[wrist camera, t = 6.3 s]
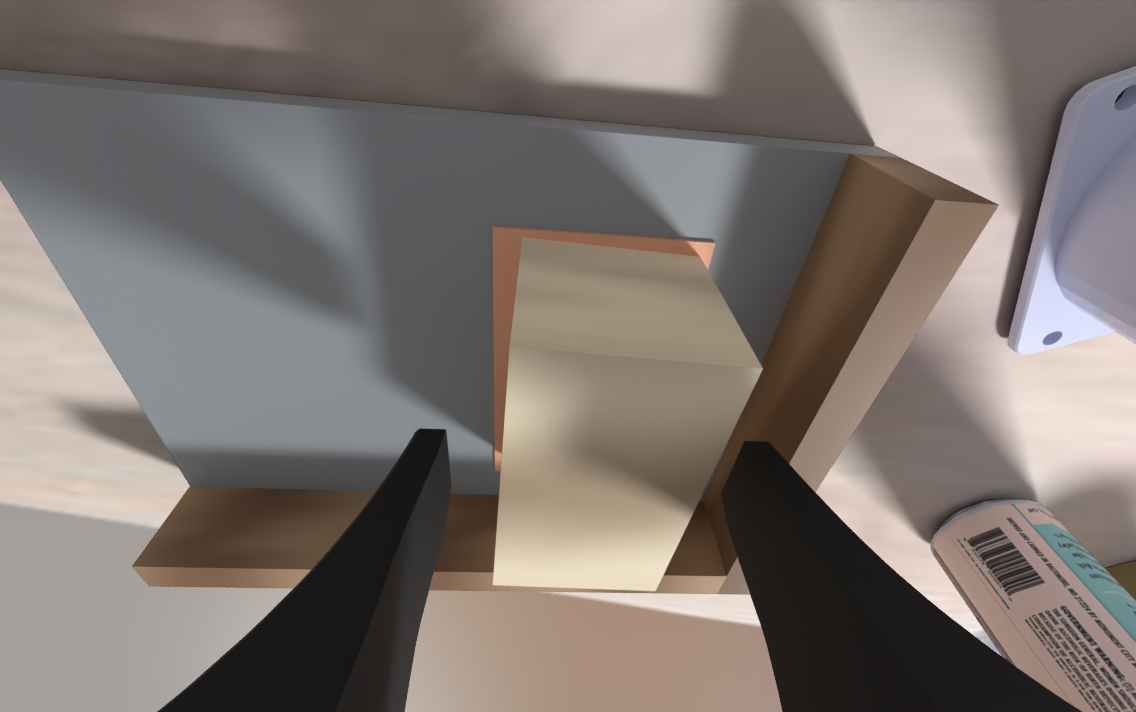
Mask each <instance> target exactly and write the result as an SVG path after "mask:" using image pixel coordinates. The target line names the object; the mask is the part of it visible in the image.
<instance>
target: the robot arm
mask: <svg viewBox="0 0 1136 712" xmlns="http://www.w3.org/2000/svg"><path fill="white" fill-rule="evenodd" d="M1124 89H1126V90H1125V92H1124V94H1123V95H1122V97H1121V98H1120V99H1119V100H1118V101H1117V102H1116V103H1115V101H1116V99H1117V97H1118V95H1119V94H1120V93H1121V92H1122V91H1123V90H1124ZM1114 332H1117V333H1118V334H1120V335H1122V336H1123V337H1125V338H1127V339H1128V340H1130V341H1132V342H1133V343H1135V344H1136V66H1134V67H1131V68H1129V69H1126V70H1123V71H1120V72H1117V73H1114V74H1111V75H1108V76H1105V77H1103V78H1100V79H1097V80H1094V81H1092V82H1090V83H1088V84H1086V85H1085V86H1083V87H1082V88H1081V89H1080V90H1079V91H1077V92H1076V93H1075V94H1074V96H1073V97H1072V98H1071V99H1070V101H1069V102H1068V104H1067V106H1066V109H1065V111H1064V114H1063V118H1062V122H1061V126H1060V131H1059V135H1058V139H1057V143H1056V147H1055V151H1054V155H1053V159H1052V163H1051V167H1050V171H1049V175H1048V179H1047V183H1046V187H1045V191H1044V195H1043V199H1042V203H1041V207H1040V212H1039V216H1038V220H1037V224H1036V228H1035V232H1034V236H1033V240H1032V244H1031V248H1030V252H1029V256H1028V260H1027V264H1026V268H1025V272H1024V276H1023V280H1022V284H1021V288H1020V293H1019V297H1018V301H1017V305H1016V309H1015V313H1014V317H1013V321H1012V325H1011V329H1010V333H1009V337H1008V341H1007V342H1008V346H1009V347H1010V348H1011V349H1012V350H1013V351H1015V352H1016V353H1017V354H1020V355H1027V354H1033V353H1036V352H1040V351H1044V350H1048V349H1052V348H1056V347H1060V346H1063V345H1067V344H1071V343H1075V342H1079V341H1083V340H1087V339H1090V338H1094V337H1098V336H1102V335H1106V334H1110V333H1114ZM451 485H452V484H451V474H450V463H449V453H448V442H447V432H446V429H424V428H420V429H418V430H417V431H416V432H415V433H414V435H413V437H412V438H411V440H410V442H409V443H408V445H407V446H406V448H405V450H404V451H403V453H402V454H401V456H400V457H399V459H398V461H397V462H396V464H395V465H394V466H393V468H392V469H391V471H390V472H389V474H388V475H387V477H386V478H385V480H384V481H383V482H382V484H381V485H380V486H379V488H378V489H377V490H376V492H375V493H374V494H373V496H372V497H371V499H370V500H369V501H368V503H367V504H366V505H365V507H364V508H363V509H362V511H361V512H360V513H359V514H358V516H357V517H356V518H355V519H354V520H353V522H352V523H351V524H350V525H349V527H348V528H347V529H346V530H345V531H344V533H343V534H342V535H341V536H340V538H339V539H338V540H337V541H336V542H335V544H334V545H333V546H332V547H331V548H330V549H329V551H328V552H327V553H326V554H325V555H324V556H323V557H322V559H321V560H320V561H319V562H318V563H317V564H316V565H315V566H314V567H313V568H312V570H311V571H310V572H309V573H308V574H307V575H306V576H305V577H304V578H303V579H302V580H301V581H300V582H299V583H298V584H297V586H296V587H295V588H294V589H293V590H292V591H291V592H290V593H289V594H288V595H287V596H286V597H285V598H284V599H283V600H282V601H281V602H280V603H279V604H278V605H277V606H276V607H275V608H274V609H273V610H272V611H271V612H270V613H269V614H268V615H267V616H266V617H265V618H264V619H263V620H261V622H259V623H258V624H257V625H256V626H255V627H254V628H253V629H252V630H251V631H250V632H249V633H248V634H247V635H246V636H245V637H243V638H242V639H241V640H240V641H239V642H238V643H237V644H236V645H235V646H233V647H232V648H231V649H230V650H229V651H228V652H227V653H225V655H223V656H222V657H221V658H220V659H219V660H218V661H217V662H215V663H214V664H213V665H212V666H211V667H210V668H209V669H207V670H206V671H205V672H204V673H203V674H202V675H201V676H200V677H198V678H197V679H196V680H195V681H194V682H193V683H192V684H190V685H189V686H188V687H187V688H186V689H185V690H183V691H182V692H181V693H180V694H179V695H178V696H176V697H175V698H174V699H173V700H171V701H170V702H169V703H168V704H166V705H165V706H164V707H163V708H161V709H160V710H159V711H158V712H404V711H405V705H406V699H407V693H408V687H409V681H410V675H411V669H412V663H413V657H414V651H415V646H416V641H417V636H418V631H419V627H420V623H421V618H422V615H423V611H424V607H425V603H426V599H427V596H428V592H429V588H430V584H431V580H432V577H433V573H434V569H435V565H436V561H437V557H438V554H439V550H440V546H441V542H442V538H443V534H444V530H445V526H446V519H447V513H448V506H449V499H450V492H451ZM721 495H722V500H723V505H724V510H725V515H726V520H727V524H728V529H729V533H730V536H731V539H732V542H733V545H734V548H735V551H736V554H737V557H738V560H739V563H740V566H741V569H742V572H743V575H744V578H745V581H746V583H747V586H748V589H749V592H750V595H751V598H752V601H753V604H754V607H755V609H756V612H757V615H758V618H759V621H760V624H761V627H762V630H763V634H764V637H765V640H766V644H767V647H768V651H769V655H770V660H771V664H772V668H773V672H774V676H775V680H776V684H777V688H778V692H779V697H780V702H781V706H782V711H783V712H1082V711H1081V710H1079V709H1078V708H1076V707H1074V706H1073V705H1071V704H1070V703H1068V702H1067V701H1065V700H1063V699H1062V698H1060V697H1059V696H1057V695H1056V694H1054V693H1053V692H1052V691H1050V690H1049V689H1047V688H1046V687H1044V686H1043V685H1041V684H1040V683H1039V682H1037V681H1036V680H1034V679H1033V678H1031V677H1030V676H1028V675H1027V674H1026V673H1024V672H1023V671H1021V670H1020V669H1018V668H1017V667H1016V666H1014V665H1013V664H1011V663H1010V662H1008V661H1007V660H1006V659H1004V658H1003V657H1002V656H1000V655H999V654H997V653H996V652H995V651H993V650H992V649H991V648H989V647H988V646H987V645H985V644H984V643H983V642H981V641H980V640H979V639H977V638H976V637H975V636H973V635H972V634H971V633H970V632H968V631H967V630H966V629H964V628H963V627H962V626H960V625H959V624H958V623H957V622H955V621H954V620H953V619H951V618H950V617H949V616H948V615H946V614H945V613H944V612H943V611H941V610H940V609H939V608H938V607H936V606H935V605H934V604H933V603H931V602H930V601H929V600H928V599H927V598H925V597H924V596H923V595H922V594H921V593H920V592H918V591H917V590H916V589H915V588H914V587H913V586H912V585H910V584H909V583H908V582H907V581H906V580H905V579H903V578H902V577H901V576H900V575H899V574H898V573H896V572H895V571H894V570H893V569H892V568H891V567H890V566H889V565H888V564H886V563H885V562H884V561H883V560H882V559H881V558H880V557H879V556H878V555H877V554H876V553H875V552H874V551H873V550H872V549H871V548H870V547H869V546H867V545H866V544H865V543H864V542H863V541H862V540H861V539H860V538H859V537H858V536H857V535H856V534H855V533H854V532H853V531H852V530H851V529H850V528H849V527H848V526H847V525H846V524H845V523H844V522H843V521H842V520H841V519H840V518H839V517H838V516H837V515H836V514H835V513H834V512H833V511H832V510H831V508H830V507H829V506H828V505H827V504H826V503H825V502H824V501H823V500H822V499H821V498H820V497H819V496H818V495H817V494H816V493H815V492H814V490H813V489H812V488H811V487H810V486H809V485H808V484H807V483H806V482H805V481H804V480H803V478H802V477H801V476H800V475H799V474H798V473H797V472H796V471H795V470H794V469H793V468H792V466H791V465H790V464H789V463H788V462H787V461H786V460H785V459H784V458H783V457H782V455H781V454H780V453H779V452H778V451H777V450H776V449H775V448H774V447H773V446H772V445H771V444H770V443H769V442H762V441H744V443H743V445H742V448H741V450H740V452H739V454H738V456H737V459H736V461H735V463H734V465H733V468H732V470H731V472H730V474H729V477H728V479H727V481H726V483H725V485H724V488H723V490H722V492H721Z"/></svg>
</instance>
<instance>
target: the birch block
mask: <svg viewBox="0 0 1136 712" xmlns="http://www.w3.org/2000/svg"><path fill="white" fill-rule="evenodd" d="M762 370H763V368H762V366H761V364H760V362H759V361H758V359H757V357H756V355H755V353H754V352H753V350H752V348H751V346H750V344H749V343H748V341H747V339H746V337H745V336H744V334H743V332H742V330H741V328H740V327H739V325H738V323H737V321H736V320H735V318H734V316H733V314H732V312H731V311H730V309H729V307H728V305H727V303H726V302H725V300H724V298H723V296H722V295H721V293H720V291H719V289H718V287H717V286H716V284H715V282H714V280H713V279H712V277H711V275H710V273H709V271H708V270H707V268H706V266H705V264H704V262H703V261H702V259H701V257H698V256H689V255H680V254H670V253H661V252H652V251H643V250H634V249H625V248H616V247H607V246H598V245H589V244H580V243H571V242H562V241H553V240H544V239H535V238H526V237H522V243H521V252H520V260H519V269H518V278H517V287H516V296H515V304H514V313H513V322H512V331H511V339H510V349H509V363H508V377H507V391H506V405H505V419H504V434H503V448H502V462H501V476H500V490H499V504H498V518H497V532H496V546H495V560H494V574H493V585H500V586H527V587H554V588H581V589H609V590H636V591H656V589H657V587H658V585H659V583H660V581H661V579H662V577H663V575H664V573H665V571H666V569H667V567H668V564H669V562H670V560H671V558H672V556H673V554H674V552H675V550H676V548H677V546H678V544H679V542H680V540H681V538H682V535H683V533H684V531H685V529H686V527H687V525H688V523H689V521H690V519H691V517H692V515H693V513H694V511H695V509H696V506H697V504H698V502H699V500H700V498H701V496H702V494H703V492H704V490H705V488H706V486H707V484H708V482H709V480H710V477H711V475H712V473H713V471H714V469H715V467H716V465H717V463H718V461H719V459H720V457H721V455H722V453H723V451H724V448H725V446H726V444H727V442H728V440H729V438H730V436H731V434H732V432H733V430H734V428H735V426H736V424H737V421H738V419H739V417H740V415H741V413H742V411H743V409H744V407H745V405H746V403H747V401H748V399H749V397H750V395H751V392H752V390H753V388H754V386H755V384H756V382H757V380H758V378H759V376H760V374H761V372H762Z"/></svg>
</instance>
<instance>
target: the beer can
mask: <svg viewBox="0 0 1136 712" xmlns="http://www.w3.org/2000/svg"><path fill="white" fill-rule="evenodd" d="M931 551H932V554H933V555H934V557H935V558H936V560H937V561H938V563H939V564H940V566H941V567H942V568H943V570H944V571H945V573H946V574H947V576H948V577H949V579H950V580H951V582H952V583H953V585H954V586H955V588H956V589H957V591H958V592H959V594H960V595H961V596H962V598H963V599H964V601H965V602H966V604H967V605H968V607H969V608H970V610H971V611H972V613H973V614H974V616H975V617H976V619H977V620H978V622H979V623H980V625H981V626H982V627H983V629H984V630H985V632H986V633H987V635H988V636H989V638H990V639H991V641H992V642H993V644H994V645H995V647H996V648H997V650H998V651H999V653H1000V654H1001V655H1002V657H1003V658H1004V659H1006V660H1007V661H1008V662H1010V663H1011V664H1013V665H1014V666H1016V667H1017V668H1018V669H1020V670H1021V671H1023V672H1024V673H1026V674H1027V675H1028V676H1030V677H1031V678H1033V679H1034V680H1036V681H1037V682H1039V683H1040V684H1041V685H1043V686H1044V687H1046V688H1047V689H1049V690H1050V691H1052V692H1053V693H1054V694H1056V695H1057V696H1059V697H1060V698H1062V699H1063V700H1065V701H1067V702H1068V703H1070V704H1071V705H1073V706H1074V707H1076V708H1078V709H1079V710H1081V711H1082V712H1136V601H1135V600H1134V599H1133V597H1132V596H1131V595H1130V594H1129V593H1128V592H1127V591H1126V590H1125V589H1124V588H1123V587H1122V586H1121V585H1120V584H1119V583H1118V582H1117V581H1116V580H1115V579H1114V578H1113V577H1112V576H1111V575H1110V573H1109V572H1108V571H1107V570H1106V569H1105V568H1104V567H1103V566H1102V565H1101V564H1100V563H1099V562H1098V561H1097V560H1096V559H1095V558H1094V557H1093V556H1092V555H1091V554H1090V553H1089V552H1088V551H1087V549H1086V548H1085V547H1084V546H1083V545H1082V544H1081V543H1080V542H1079V541H1078V540H1077V539H1076V538H1075V537H1074V536H1073V535H1072V534H1071V533H1070V532H1069V531H1068V530H1067V529H1066V528H1065V527H1064V525H1063V524H1062V523H1061V522H1060V521H1059V520H1058V519H1057V518H1056V517H1055V516H1054V515H1053V514H1052V513H1051V512H1050V511H1049V509H1048V508H1047V507H1045V506H1043V505H1042V504H1040V503H1038V502H1034V501H1030V500H1011V499H996V500H989V501H984V502H980V503H977V504H974V505H971V506H969V507H966V508H964V509H962V510H960V511H958V512H956V513H955V514H953V515H952V516H950V517H949V518H948V519H946V520H945V521H944V522H943V524H942V525H941V526H940V528H939V530H938V531H937V532H936V533H935V535H934V536H933V539H932V541H931Z"/></svg>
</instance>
